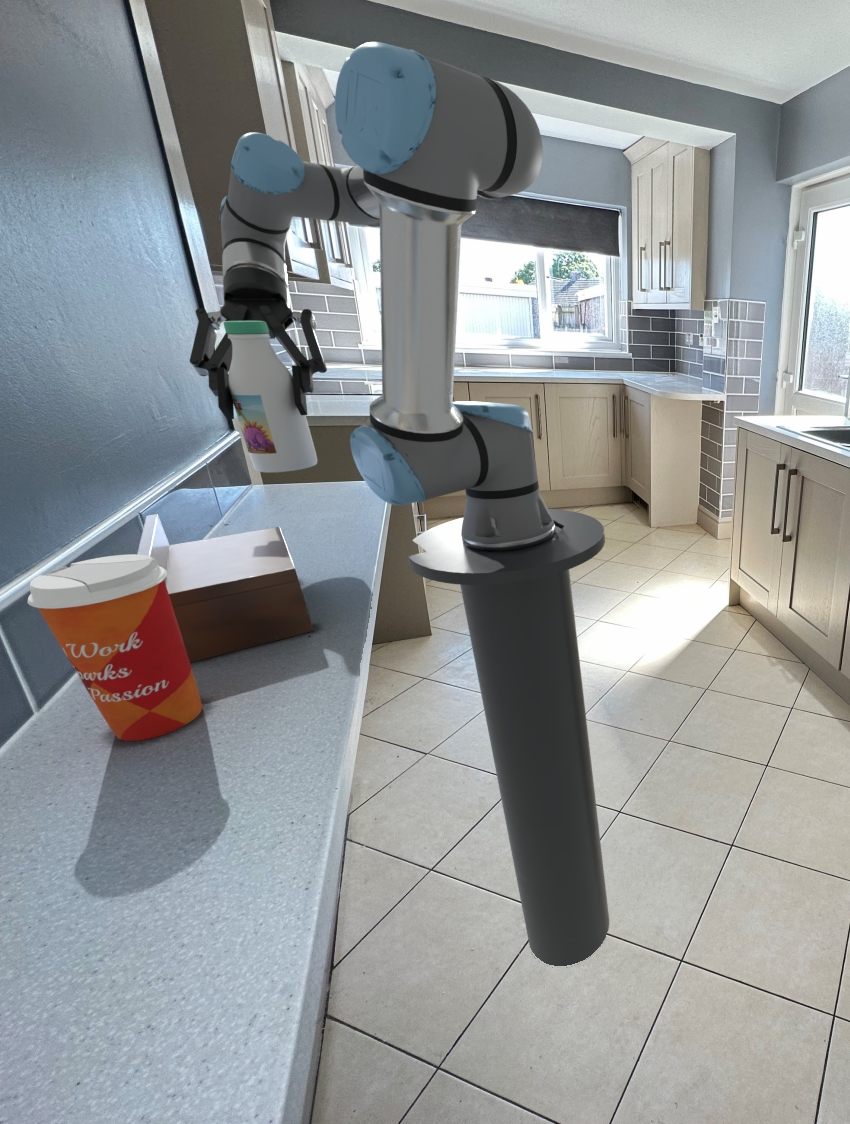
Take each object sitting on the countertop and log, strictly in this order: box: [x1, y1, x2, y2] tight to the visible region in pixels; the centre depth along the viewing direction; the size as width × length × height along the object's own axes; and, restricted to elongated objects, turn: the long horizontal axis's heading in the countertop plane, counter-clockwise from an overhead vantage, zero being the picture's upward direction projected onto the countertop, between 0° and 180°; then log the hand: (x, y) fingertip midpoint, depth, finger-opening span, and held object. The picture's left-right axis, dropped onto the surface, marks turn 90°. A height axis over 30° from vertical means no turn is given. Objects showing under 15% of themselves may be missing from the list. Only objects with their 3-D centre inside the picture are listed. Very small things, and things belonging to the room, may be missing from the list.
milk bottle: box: [223, 321, 319, 473], centre depth 85 cm, size 8×8×20 cm
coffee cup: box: [27, 554, 203, 742], centre depth 53 cm, size 8×8×15 cm
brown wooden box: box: [137, 513, 315, 664], centre depth 72 cm, size 12×18×12 cm, turn 40°
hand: (264, 410), depth 83 cm, fingers closed on milk bottle, 8 cm apart
